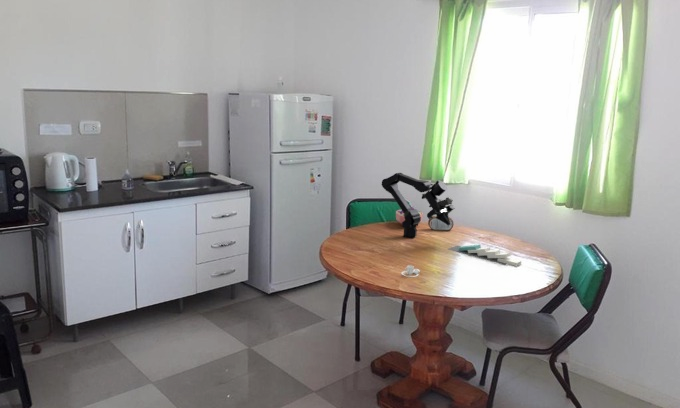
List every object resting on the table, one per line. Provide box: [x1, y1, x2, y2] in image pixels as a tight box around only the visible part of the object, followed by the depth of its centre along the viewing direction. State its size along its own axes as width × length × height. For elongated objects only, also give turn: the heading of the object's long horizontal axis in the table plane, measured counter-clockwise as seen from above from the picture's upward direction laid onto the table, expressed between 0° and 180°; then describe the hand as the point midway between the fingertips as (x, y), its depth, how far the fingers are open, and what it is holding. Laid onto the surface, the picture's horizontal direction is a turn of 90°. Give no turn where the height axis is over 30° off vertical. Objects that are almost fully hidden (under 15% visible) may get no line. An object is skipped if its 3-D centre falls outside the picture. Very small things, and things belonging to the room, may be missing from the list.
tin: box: [427, 215, 454, 232], centre depth 316 cm, size 15×3×8 cm, turn 84°
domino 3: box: [487, 252, 511, 258], centre depth 262 cm, size 2×5×10 cm
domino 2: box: [477, 249, 501, 256], centre depth 265 cm, size 2×5×10 cm
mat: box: [447, 245, 507, 266], centre depth 269 cm, size 33×10×1 cm, turn 46°
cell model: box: [395, 206, 424, 225], centre depth 323 cm, size 17×20×11 cm
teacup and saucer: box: [400, 264, 421, 278], centre depth 238 cm, size 9×8×4 cm
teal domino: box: [459, 244, 482, 251], centre depth 273 cm, size 2×5×10 cm
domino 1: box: [468, 246, 491, 253], centre depth 269 cm, size 2×5×10 cm
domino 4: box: [497, 257, 522, 267], centre depth 258 cm, size 2×5×10 cm
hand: (449, 224), depth 280 cm, fingers closed
